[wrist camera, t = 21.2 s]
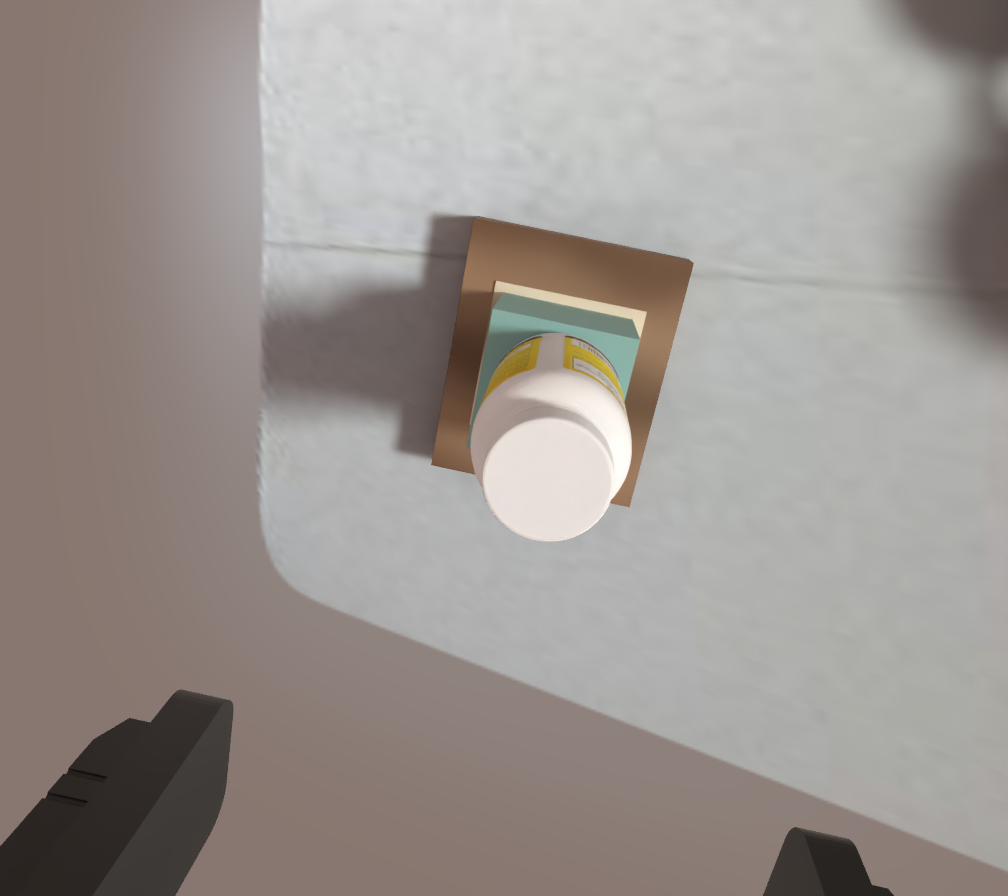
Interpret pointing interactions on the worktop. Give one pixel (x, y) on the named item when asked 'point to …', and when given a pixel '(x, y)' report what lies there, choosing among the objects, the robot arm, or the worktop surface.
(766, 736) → the worktop surface
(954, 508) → the worktop surface
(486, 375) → the teal block
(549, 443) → the supplement bottle
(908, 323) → the worktop surface
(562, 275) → the base board
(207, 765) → the robot arm
